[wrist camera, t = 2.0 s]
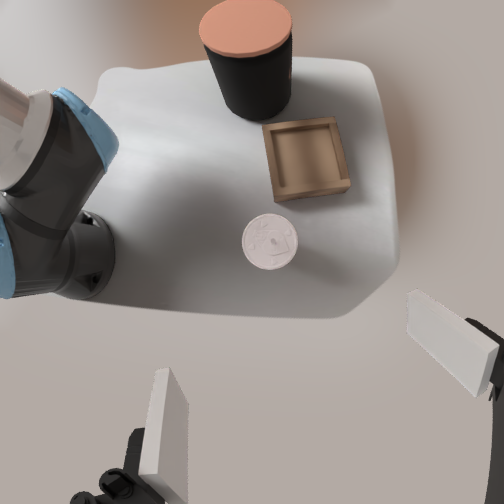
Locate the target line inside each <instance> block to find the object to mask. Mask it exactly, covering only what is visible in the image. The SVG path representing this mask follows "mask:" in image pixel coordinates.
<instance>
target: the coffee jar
mask: <svg viewBox="0 0 504 504" xmlns="http://www.w3.org/2000/svg"><path fill="white" fill-rule="evenodd" d="M291 29H292V19H291V15H290V14H289V12H288V11H287V9H286V8H285V7H284V6H282V5H281V4H279V3H278V2H276V1H273V0H226V1H224V2H222V3H220V4H218V5H216V6H214V7H213V8H212V9H210V10H209V11H208V12H207V13H206V14H205V15H204V17H203V19H202V21H201V22H200V27H199V34H200V36H201V38H202V41H203V43H204V47H205V50H206V52H207V55H208V57H209V60H210V63H211V65H212V68H213V71H214V73H215V76H216V78H217V81H218V84H219V86H220V89H221V92H222V94H223V97H224V100H225V102H226V105H227V107H228V108H229V109H230V110H231V111H232V112H233V113H234V114H236V115H238V116H240V117H242V118H246V119H250V120H263V119H266V118H270V117H273V116H274V115H276V114H277V113H279V112H280V111H282V110H283V109H284V107H285V106H286V105H287V104H288V102H289V99H290V95H291V72H292V33H291Z"/></svg>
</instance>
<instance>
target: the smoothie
mask: <svg viewBox="0 0 504 504" xmlns="http://www.w3.org/2000/svg"><path fill="white" fill-rule="evenodd" d="M242 248H243V251H244V254H245V256H246V257H247V259H248V260H249V261H250V262H251V263H252V264H254V265H255V266H257V267H259V268H262V269H265V270H274V269H279V268H281V267H283V266H285V265H287V264H288V263H289V262H290V261H291V260H292V258H293V257H294V255H295V253H296V251H297V248H298V237H297V233H296V230H295V228H294V227H293V225H292V224H291V223H290V222H289V221H288V220H287V219H286V218H284V217H282V216H280V215H277V214H263V215H260V216H257V217H256V218H254V219H253V220H251V221H250V222H249V223H248V225H247V226H246V228H245V230H244V232H243V235H242Z"/></svg>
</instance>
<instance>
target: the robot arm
mask: <svg viewBox="0 0 504 504" xmlns="http://www.w3.org/2000/svg"><path fill="white" fill-rule="evenodd" d="M118 147H119V141H118V138H117V136H116V135H115V133H114V132H113V131H112V129H111V128H110V127H109V126H108V125H107V124H106V123H105V122H104V121H103V119H102V118H101V117H100V116H99V115H98V114H96V113H95V112H94V111H93V110H92V109H90V108H89V107H88V106H87V105H86V104H85V103H84V102H83V101H82V100H81V99H80V98H79V97H77V96H76V95H75V94H74V93H72V92H71V91H69V90H68V89H66V88H63V87H61V88H59V89H58V90H57V91H55V92H53V94H51V93H49V92H48V91H46V90H43V89H40V90H36V91H34V92H31V93H28V94H24V93H23V92H21V91H20V90H18V89H17V88H15V87H13V86H12V85H10V84H9V83H7V82H6V81H4V80H3V79H1V78H0V298H4V299H10V298H15V297H21V296H29V295H36V294H42V293H49V292H53V293H56V294H58V295H61V296H63V297H66V298H69V299H75V300H79V299H85V298H90V297H93V296H95V295H96V294H98V293H99V292H100V291H101V290H102V289H103V288H104V287H105V286H106V284H107V282H108V281H109V279H110V276H111V274H112V271H113V267H114V260H115V248H114V242H113V238H112V235H111V232H110V230H109V228H108V226H107V225H106V223H105V222H104V221H103V220H102V219H101V218H100V217H99V216H97V215H96V214H94V213H91V212H87V211H83V210H81V209H82V207H83V206H84V204H85V203H86V201H87V199H88V198H89V196H90V195H91V193H92V192H93V190H94V189H95V187H96V186H97V184H98V183H99V181H100V180H101V178H102V177H103V175H105V174H106V172H107V169H108V166H109V165H110V163H111V162H112V160H113V158H114V157H115V155H116V154H117V151H118ZM407 334H408V335H409V336H410V337H412V338H413V339H414V340H415V341H416V342H417V343H418V344H419V345H420V346H422V347H423V348H424V349H425V350H426V351H427V352H428V353H429V354H430V355H431V356H432V357H433V358H434V359H436V360H437V361H438V362H439V363H440V364H441V365H442V366H443V367H444V368H445V369H446V370H447V371H448V372H449V373H450V374H451V375H452V376H454V378H456V379H457V380H458V381H459V382H460V383H461V384H462V385H463V386H464V387H465V388H466V389H467V390H468V391H469V392H470V393H471V394H472V395H473V396H474V397H475V398H477V397H478V396H479V395H481V394H482V393H484V392H485V391H486V390H487V387H488V384H489V381H490V382H491V383H493V384H494V385H493V388H492V391H491V394H490V397H489V401H490V400H491V398H492V396H493V431H492V449H491V461H490V471H489V479H488V486H487V492H486V499H485V504H504V339H503V338H501V337H500V336H498V335H497V334H496V333H494V332H493V331H491V330H489V329H488V328H487V327H485V326H483V325H482V324H481V323H480V322H478V321H477V320H473V319H470V318H466V319H465V320H464V319H462V318H461V317H459V316H458V315H456V314H455V313H453V312H452V311H451V310H449V309H448V308H446V307H445V306H443V305H442V304H440V303H438V302H437V301H436V300H434V299H433V298H431V297H429V296H428V295H427V294H425V293H423V292H422V291H420V290H419V289H415V290H413V291H410V292H408V293H407ZM188 409H189V403H188V402H187V400H186V398H185V396H184V394H183V392H182V390H181V388H180V386H179V385H178V383H177V381H176V379H175V377H174V375H173V373H172V371H171V369H170V367H168V368H163V369H158V370H156V373H155V378H154V383H153V388H152V394H151V399H150V404H149V410H148V415H147V422H146V427H145V428H138V429H134V431H133V433H132V434H131V436H130V437H129V441H128V448H127V451H126V454H127V455H126V456H125V462H124V467H123V469H119V468H114V469H110V470H108V471H106V472H105V473H104V474H103V475H102V476H101V478H100V480H99V487H100V489H101V490H102V491H103V492H104V493H105V494H102V495H98V496H95V497H94V496H93V495H92V494H91V493H89V492H85V491H83V492H79V493H77V494H75V495H74V496H73V497H72V499H71V501H70V504H165V501H166V502H167V503H168V504H188V480H187V479H188V476H187V475H188V469H187V467H188V464H187V463H188Z"/></svg>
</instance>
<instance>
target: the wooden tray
mask: <svg viewBox="0 0 504 504" xmlns="http://www.w3.org/2000/svg"><path fill="white" fill-rule="evenodd" d="M262 130H263V136H264V142H265V148H266V153H267V159H268V165H269V171H270V177H271V183H272V189H273V195H274V201H275V202H280V201H287V200H294V199H301V198H308V197H315V196H323V195H330V194H338V193H345V192H346V191H347V190H348V189H349V188H350V186H351V183H350V178H349V174H348V169H347V165H346V160H345V156H344V152H343V147H342V143H341V139H340V135H339V131H338V127H337V124H336V120H335V117H323V118H313V119H304V120H296V121H288V122H280V123H273V124H266V125H262Z"/></svg>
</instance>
